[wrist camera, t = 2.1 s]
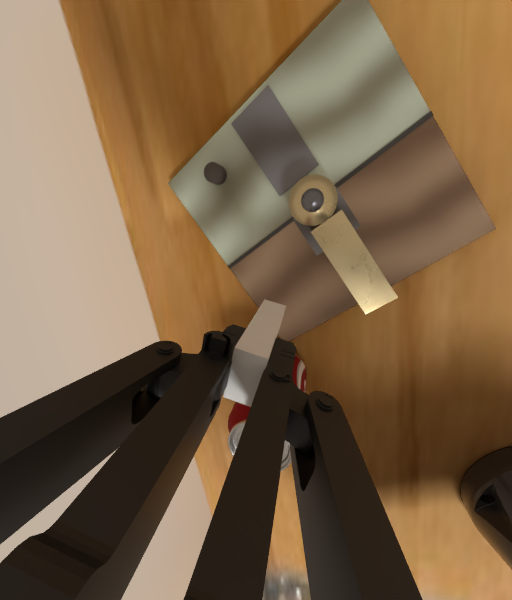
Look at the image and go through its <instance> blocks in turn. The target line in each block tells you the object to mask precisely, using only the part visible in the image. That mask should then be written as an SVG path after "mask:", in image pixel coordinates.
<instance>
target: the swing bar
mask: <svg viewBox="0 0 512 600" xmlns="http://www.w3.org/2000/svg"><path fill="white" fill-rule="evenodd" d="M337 201H338V195H337V190H336V187H335V186H334V184H333V183H332V181H331V180H329V179H328V178H327V177H325V176H322V175H317V174H314V175H308V176H306V177H303V178H302V179H300V180H299V181H298V182H297V183H296V184H295V185H294V187H293V188H292V190H291V192H290V196H289V209H290V212H291V214H292V216H293V217H294V219H295V220H296V221H298V222H299V223H301V224H303V225H307V226H315V225H318V226H317V227H316V228H314V229H313V230H311V233H312V235H313V236H314V238H315V239H316V241H317V242H318V244H319V245H320V247H321V248H322V250H323V251H324V253H325V254H326V256H327V257H328V259H329V260H330V262H331V263H332V265H333V267H334V268H335V270H336V271H337V273H338V274H339V276H340V277H341V279H342V280H343V282H344V283H345V285H346V286H347V288H348V289H349V291H350V292H351V294H352V295H353V297H354V298H355V300H356V301H357V303H358V304H359V306H360V307H361V309H362V310H363V312H364V313H365V315H366V314H368V313H370V312H372V311H374V310H376V309H377V308H379V307H381V306H383V305H385V304H387V303H389V302H391V301H393V300H395V299H397V298H398V297H397V295H396V294H395V292H394V290H393V289H392V287H391V286H390V284H389V283H388V281H387V279H386V278H385V276H384V275H383V273H382V272H381V270H380V269H379V267H378V265H377V264H376V262H375V261H374V259H373V258H372V256H371V254H370V253H369V251H368V250H367V248H366V247H365V245H364V244H363V242H362V240H361V239H360V237H359V236H358V234H357V233H356V231H355V229H354V228H353V226H352V225H351V223H350V222H349V220H348V219H347V217H346V215H345V214H344V212H343V211H342V210H340V211H338V212H337V213H335V214H334V215H332V214H333V213H334V211H335V209H336V206H337ZM319 224H320V225H319Z"/></svg>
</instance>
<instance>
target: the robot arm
mask: <svg viewBox="0 0 512 600" xmlns="http://www.w3.org/2000/svg"><path fill="white" fill-rule="evenodd" d="M285 308H286V306H285V305H282V304H279V303H275V302H272V301H268V300H265V299H264V301H263V303H262V304H261V306H260V307H259V309H258V311H257V312H256V314H255V315H254V317H253V319H252V320H251V322H250V324H249V325H248V327H247V328H243V327H239V326H236V325H231V326H229V327H227V328H226V329H225V330H224V331H223V332H220V331H210V332H207V333H205V334H204V338H203V344H202V350H201V351H200V353H199V354H188V353H181V352H182V349H181V346H180V345H178V344H177V343H175V342H172V341H159V342H156V343H153V344H151V345H149V346H147V347H145V348H143V349H141V350H139V351H137V352H135V353H133V354H131V355H129V356H127V357H125V358H123V359H120V360H118V361H116V362H114V363H112V364H110V365H108V366H106V367H104V368H102V369H100V370H98V371H96V372H94V373H92V374H90V375H88V376H85V377H83V378H82V379H79V380H77V381H75V382H73V383H71V384H69V385H67V386H65V387H63V388H61V389H59V390H57V391H55V392H53V393H51V394H48V395H46V396H44V397H42V398H40V399H38V400H36V401H34V402H32V403H30V404H28V405H26V406H24V407H22V408H20V409H18V410H16V411H14V412H12V413H10V414H7V415H5V416H3V417H1V418H0V544H1V543H2V542H4V541H5V540H6V539H7V538H8V537H10V536H11V535H12V534H13V533H15V532H16V531H17V530H18V529H20V528H21V527H22V526H23V525H24V524H26V523H27V522H28V521H29V520H30V519H32V518H33V517H34V516H35V515H36V514H38V513H39V512H40V511H42V510H43V509H44V508H45V507H46V506H48V505H49V504H50V503H51V502H53V501H54V500H55V499H56V498H57V497H59V496H60V495H61V494H62V493H63V492H65V491H66V490H67V489H68V488H70V487H71V486H72V485H73V484H75V483H76V482H77V481H78V480H79V479H81V478H82V477H83V476H84V475H86V474H87V473H88V472H89V471H90V470H92V469H93V468H94V467H95V466H96V465H98V464H99V463H100V462H101V461H103V460H104V459H105V458H106V457H107V456H109V455H110V454H111V453H112V452H114V451H115V450H116V449H117V448H118V449H117V450H116V452H115V453H114V454H113V455H112V456H111V457H110V459H109V460H108V461H107V462H106V463H105V464H104V466H103V467H102V468H101V469H100V470H99V472H98V473H97V474H96V475H95V476H94V478H93V479H92V480H91V481H90V482H89V483H88V485H87V486H86V487H85V488H84V489H83V490H82V492H81V493H80V494H79V495H78V496H77V498H76V499H75V500H74V501H73V502H72V503H71V505H70V506H69V507H68V508H67V509H66V510H65V512H64V513H63V514H62V515H61V516H60V517H59V519H58V520H57V521H56V522H55V523H54V524H53V525H52V526H51V527H50V528H49V529H48V530H46V531H45V532H44V533H41V534H38V535H35V536H31V537H29V538H28V539H27V540H25V541H24V542H22V543H21V544H20V545H18V546H17V547H16V548H15V549H14V550H13V551H12V552H11V553H10V554H9V555H8V556H7V557H6V558H5V559H4V560H3V561H2V562H1V563H0V600H121V598H122V596H123V594H124V592H125V590H126V588H127V586H128V584H129V582H130V580H131V579H132V577H133V575H134V573H135V571H136V569H137V567H138V565H139V563H140V561H141V559H142V557H143V555H144V553H145V551H146V549H147V547H148V545H149V543H150V541H151V539H152V537H153V535H154V533H155V531H156V529H157V527H158V525H159V523H160V521H161V519H162V518H163V516H164V514H165V512H166V510H167V508H168V506H169V504H170V502H171V500H172V498H173V496H174V494H175V491H176V490H177V488H178V486H179V484H180V482H181V480H182V478H183V476H184V474H185V472H186V470H187V468H188V466H189V464H190V462H191V460H192V458H193V456H194V454H195V452H196V451H197V449H198V447H199V445H200V443H201V441H202V439H203V437H204V435H205V433H206V431H207V429H208V427H209V425H210V423H211V421H212V419H213V417H214V415H215V413H216V411H217V409H218V407H219V405H220V401H221V396H222V395H223V393H224V396H223V397H225V398H227V399H230V400H233V401H236V402H238V403H241V404H244V405H247V406H249V407H251V408H250V411H249V414H248V416H247V419H246V422H245V425H244V428H243V431H242V434H241V437H240V439H239V442H238V445H237V448H236V451H235V454H234V457H233V460H232V462H231V465H230V468H229V471H228V474H227V477H226V480H225V483H224V485H223V488H222V491H221V494H220V497H219V500H218V503H217V506H216V509H215V511H214V514H213V517H212V520H211V523H210V526H209V529H208V532H207V534H206V537H205V540H204V543H203V546H202V549H201V552H200V555H199V558H198V560H197V563H196V566H195V569H194V572H193V575H192V578H191V581H190V583H189V586H188V589H187V592H186V595H185V597H184V600H262V597H263V590H264V583H265V576H266V569H267V562H268V555H269V548H270V541H271V534H272V527H273V520H274V513H275V506H276V499H277V492H278V485H279V478H280V471H281V464H282V457H283V450H284V443H285V440H286V441H287V442H288V443H290V453H291V460H292V467H293V474H294V481H295V489H296V496H297V503H298V510H299V517H300V524H301V531H302V538H303V545H304V552H305V559H306V567H307V574H308V581H309V588H310V595H311V600H422V597H421V595H420V593H419V590H418V588H417V585H416V583H415V581H414V578H413V576H412V574H411V571H410V569H409V566H408V564H407V562H406V559H405V557H404V555H403V552H402V550H401V547H400V545H399V543H398V540H397V538H396V536H395V533H394V531H393V528H392V526H391V524H390V521H389V519H388V517H387V514H386V512H385V509H384V507H383V505H382V502H381V500H380V497H379V495H378V493H377V490H376V488H375V486H374V483H373V481H372V478H371V476H370V474H369V471H368V469H367V467H366V464H365V462H364V459H363V457H362V455H361V452H360V450H359V448H358V445H357V443H356V440H355V438H354V436H353V433H352V431H351V429H350V426H349V424H348V421H347V419H346V417H345V414H344V412H343V410H342V407H341V405H340V404H339V402H338V401H337V400H336V399H335V398H334V397H332V396H331V395H329V394H327V393H324V392H321V391H314V392H312V393H310V395H308V394H306V393H305V392H303V391H302V390H300V389H299V388H298V387H297V386H296V385H295V383H294V382H293V377H292V374H293V367H294V361H295V354H296V347H295V345H294V343H292V342H289V341H286V340H283V339H279V338H277V335H278V332H279V328H280V325H281V322H282V318H283V315H284V311H285ZM224 391H225V392H224ZM460 490H461V498H462V501H463V504H464V506H465V508H466V510H467V512H468V513H469V515H470V517H471V519H472V521H473V523H474V525H475V526H476V528H477V529H478V530H479V532H480V533H481V534H482V535H483V537H484V538H485V539H486V540H487V541H488V542H489V544H490V545H491V546H492V547H493V548H494V549H495V551H496V552H497V553H498V554H499V555H500V556H501V558H502V559H503V560H504V561H505V562H506V563H507V565H508V566H509V567H510V568H511V569H512V447H510V448H506V449H502V450H499V451H497V452H494V453H492V454H490V455H487V456H486V457H484V458H482V459H481V460H479V461H478V462H476V463H475V464H474V465H473V466H472V467H471V468H470V469H469V470H468V471H467V473H466V474H465V476H464V478H463V480H462V483H461V489H460Z"/></svg>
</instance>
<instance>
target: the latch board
mask: <svg viewBox="0 0 512 600" xmlns="http://www.w3.org/2000/svg"><path fill="white" fill-rule="evenodd" d="M314 174H317V175H322V176H325V177H327V178H328V179H329V180H331V181H332V183H333V184H334V186H335V187H336V190H337V195H338V201H337V206H336V209H335V211H334V213H333V214H332V215H334V214H335V213H337V212H338V211H340V210H342V211H343V212H344V214H345V215H346V217H347V219H348V220H349V222H350V223H351V225H352V226H353V228H354V229H355V231H356V233H357V234H358V236H359V237H360V239H361V240H362V242H363V244H364V245H365V247H366V248H367V250H368V251H369V253H370V254H371V256H372V258H373V259H374V261H375V262H376V264H377V265H378V267H379V269H380V270H381V272H382V273H383V275H384V276H385V278H386V279H387V281H388V283H389V284H390V286H392V285H394V284H396V283H397V282H399V281H401V280H403V279H405V278H407V277H408V276H410V275H412V274H414V273H416V272H418V271H419V270H421V269H423V268H425V267H427V266H429V265H430V264H432V263H434V262H436V261H438V260H440V259H441V258H443V257H445V256H447V255H449V254H451V253H452V252H454V251H456V250H458V249H460V248H462V247H463V246H465V245H467V244H469V243H471V242H473V241H475V240H476V239H478V238H480V237H482V236H484V235H486V234H487V233H489V232H491V231H493V230H495V229H496V227H495V226H494V224H493V222H492V220H491V218H490V217H489V215H488V213H487V211H486V210H485V208H484V206H483V204H482V202H481V201H480V199H479V197H478V195H477V193H476V192H475V190H474V188H473V186H472V185H471V183H470V181H469V179H468V177H467V176H466V174H465V172H464V170H463V169H462V167H461V165H460V163H459V161H458V160H457V158H456V156H455V154H454V152H453V151H452V149H451V147H450V145H449V144H448V142H447V140H446V138H445V136H444V135H443V133H442V131H441V129H440V127H439V126H438V124H437V122H436V120H435V119H434V117H433V113H432V112H431V111H430V110H429V108H428V106H427V104H426V102H425V101H424V99H423V97H422V95H421V94H420V92H419V90H418V88H417V86H416V85H415V83H414V81H413V79H412V77H411V76H410V74H409V72H408V70H407V69H406V67H405V65H404V63H403V61H402V60H401V58H400V56H399V54H398V52H397V51H396V49H395V47H394V45H393V44H392V42H391V40H390V38H389V36H388V35H387V33H386V31H385V29H384V27H383V26H382V24H381V22H380V20H379V19H378V17H377V15H376V13H375V11H374V10H373V8H372V6H371V4H370V2H369V1H368V0H342V1H341V2H340V3H339V4H338V5H337V6H336V7H335V8H334V9H333V10H332V11H331V12H330V13H329V14H328V15H327V16H326V17H325V18H324V20H323V21H322V22H321V23H320V24H319V25H318V26H317V27H316V28H315V29H314V30H313V31H312V32H311V33H310V34H309V35H308V36H307V37H306V39H305V40H304V41H303V42H302V43H301V44H300V45H299V46H298V47H297V48H296V49H295V50H294V51H293V52H292V53H291V54H290V55H289V56H288V57H287V59H286V60H285V61H284V62H283V63H282V64H281V65H280V66H279V67H278V68H277V69H276V70H275V71H274V72H273V73H272V74H271V75H270V76H269V78H268V79H267V80H266V81H265V82H264V83H263V84H262V85H261V86H260V87H259V88H258V89H257V90H256V91H255V92H254V93H253V94H252V95H251V96H250V98H249V99H248V100H247V101H246V102H245V103H244V104H243V105H242V106H241V107H240V108H239V109H238V110H237V111H236V112H235V113H234V114H233V115H232V117H231V118H230V119H229V120H228V121H227V122H226V123H225V124H224V125H223V126H222V127H221V128H220V129H219V130H218V131H217V132H216V133H215V134H214V135H213V137H212V138H211V139H210V140H209V141H208V142H207V143H206V144H205V145H204V146H203V147H202V148H201V149H200V150H199V151H198V152H197V153H196V154H195V155H194V157H193V158H192V159H191V160H190V161H189V162H188V163H187V164H186V165H185V166H184V167H183V168H182V169H181V170H180V171H179V172H178V173H177V174H176V176H175V177H174V178H173V179H172V180H171V181H170V182H169V183H168V184H169V185H170V187H171V188H172V190H173V191H174V192H175V194H176V195H177V197H178V198H179V199H180V201H181V202H182V203H183V205H184V206H185V208H186V209H187V210H188V212H189V213H190V214H191V216H192V217H193V219H194V220H195V221H196V223H197V224H198V225H199V227H200V228H201V230H202V231H203V232H204V234H205V235H206V236H207V238H208V239H209V241H210V242H211V243H212V245H213V246H214V247H215V249H216V250H217V252H218V253H219V254H220V256H221V257H222V258H223V260H224V261H225V263H226V264H227V265H228V267H229V269H231V271H232V272H233V274H234V275H235V276H236V278H237V279H238V281H239V282H240V283H241V285H242V286H243V287H244V289H245V290H246V292H247V293H248V294H249V296H250V297H251V298H252V300H253V301H254V303H255V304H256V305H257V307H258V308H259V307H260V306H261V304H262V303H263V301H264V299H265V300H268V301H272V302H275V303H279V304H282V305H285V306H286V308H285V311H284V315H283V318H282V322H281V325H280V328H279V332H278V336H279V337H280V338H281V339H283V340H286V341H291V340H293V339H295V338H296V337H298V336H300V335H302V334H304V333H306V332H307V331H309V330H311V329H313V328H315V327H317V326H318V325H320V324H322V323H324V322H326V321H328V320H329V319H331V318H333V317H335V316H337V315H339V314H340V313H342V312H344V311H346V310H348V309H350V308H351V307H353V306H355V305H357V304H358V303H357V301H356V300H355V298H354V297H353V295H352V294H351V292H350V291H349V289H348V288H347V286H346V285H345V283H344V282H343V280H342V279H341V277H340V276H339V274H338V273H337V271H336V270H335V268H334V267H333V265H332V263H331V262H330V260H329V259H328V257H327V256H326V254H325V253H324V251H323V250H322V248H321V247H320V245H319V244H318V242H317V241H316V239H315V238H314V236H313V235H312V233H311V230H313V229H314V228H316V227H317V226H318V225H315V226H307V225H303V224H301V223H299V222H298V221H296V220H295V219H294V217H293V216H292V214H291V212H290V209H289V196H290V192H291V190H292V188H293V187H294V185H295V184H296V183H297V182H298V181H299V180H300V179H302V178H303V177H306V176H308V175H314ZM319 225H320V224H319Z"/></svg>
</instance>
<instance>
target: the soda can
mask: <svg viewBox="0 0 512 600" xmlns="http://www.w3.org/2000/svg"><path fill="white" fill-rule="evenodd" d="M292 377H293V382H294V383H295V385H296V386H297V387H298V388H299V389H300V390H302V391H303V392H305V388H306V368H305V365H304V363H303V361H302V360H301V359H300V357H299V356H298V355H296V354H295V361H294V367H293V374H292ZM250 408H251V407H249V406H247V405H244V404H241V403H238V402H235V404H234V407H233V409H232V411H231V413H230V416H229V420H228V428H229V433H230V434H229V437H228V445H229V449H230V451H231V453H232V455H233V456H234V454H235V451H236V448H237V445H238V442H239V439H240V437H241V434H242V431H243V428H244V425H245V422H246V419H247V416H248V414H249V411H250ZM290 462H291V453H290V443H288V442H287V441H286V440H285V443H284V450H283V457H282V464H281V471H283V470H284V469H286V468H287V467H288V466H289V464H290ZM281 471H280V472H281Z"/></svg>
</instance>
